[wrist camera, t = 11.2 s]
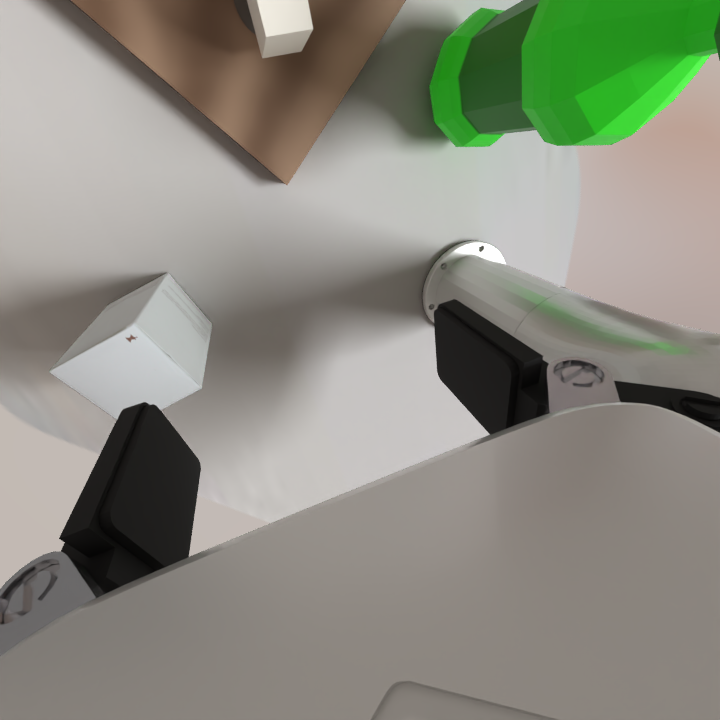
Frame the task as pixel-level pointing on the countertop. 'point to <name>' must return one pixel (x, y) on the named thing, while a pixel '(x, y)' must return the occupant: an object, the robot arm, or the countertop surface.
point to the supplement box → (140, 350)
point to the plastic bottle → (569, 68)
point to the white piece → (281, 25)
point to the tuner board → (251, 65)
